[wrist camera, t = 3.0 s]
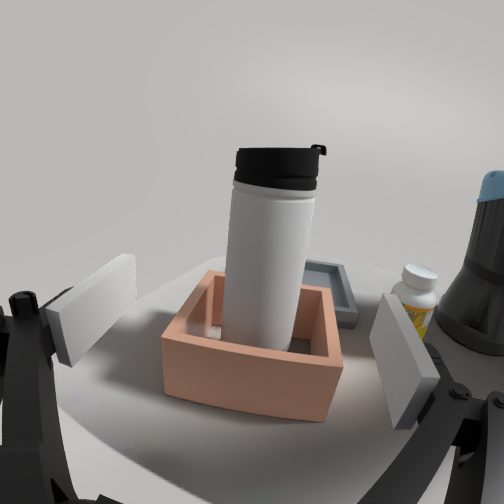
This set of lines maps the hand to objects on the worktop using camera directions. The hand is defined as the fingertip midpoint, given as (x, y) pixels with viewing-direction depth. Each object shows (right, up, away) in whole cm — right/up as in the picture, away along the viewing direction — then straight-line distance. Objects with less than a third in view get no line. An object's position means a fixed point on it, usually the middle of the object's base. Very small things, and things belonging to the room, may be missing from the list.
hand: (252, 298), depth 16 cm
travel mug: (0, -8, +13) cm, 16 cm away
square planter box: (0, -8, +13) cm, 15 cm away
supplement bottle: (+17, -9, +17) cm, 25 cm away
